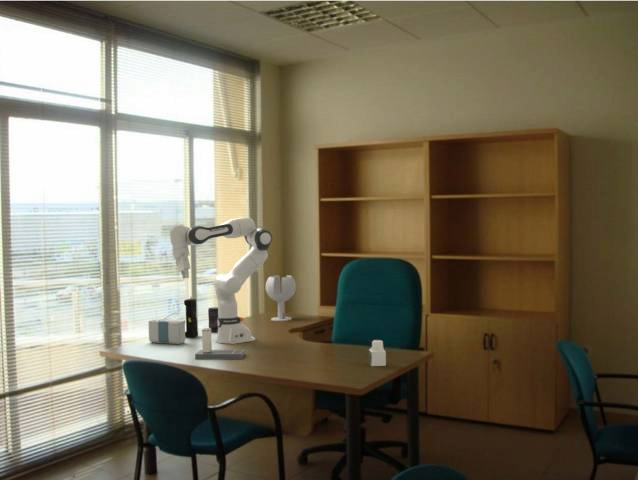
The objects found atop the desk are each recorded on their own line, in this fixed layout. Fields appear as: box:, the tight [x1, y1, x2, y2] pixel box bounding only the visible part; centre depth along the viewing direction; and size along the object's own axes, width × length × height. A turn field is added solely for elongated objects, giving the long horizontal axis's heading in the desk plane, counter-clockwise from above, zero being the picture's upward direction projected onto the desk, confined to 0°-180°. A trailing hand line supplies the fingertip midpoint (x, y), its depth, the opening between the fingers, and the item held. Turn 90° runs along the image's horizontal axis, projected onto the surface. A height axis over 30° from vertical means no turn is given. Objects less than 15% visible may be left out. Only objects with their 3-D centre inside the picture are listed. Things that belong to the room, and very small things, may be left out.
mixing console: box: [194, 349, 246, 360], centre depth 353 cm, size 24×11×3 cm, turn 86°
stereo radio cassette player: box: [148, 309, 186, 345], centre depth 393 cm, size 21×8×20 cm, turn 68°
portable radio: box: [183, 297, 199, 339], centre depth 410 cm, size 8×6×25 cm
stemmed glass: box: [265, 274, 297, 322], centre depth 470 cm, size 20×20×30 cm
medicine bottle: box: [368, 338, 387, 367], centre depth 330 cm, size 7×7×12 cm
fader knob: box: [201, 327, 213, 352], centre depth 354 cm, size 4×5×12 cm
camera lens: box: [207, 306, 218, 333], centre depth 427 cm, size 8×8×15 cm
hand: (186, 278), depth 378 cm, fingers open, 8 cm apart
